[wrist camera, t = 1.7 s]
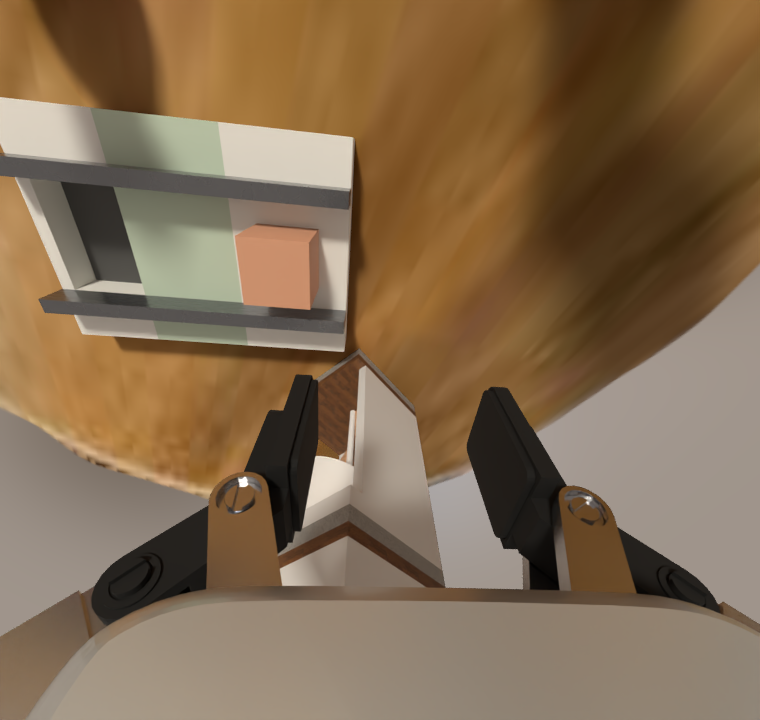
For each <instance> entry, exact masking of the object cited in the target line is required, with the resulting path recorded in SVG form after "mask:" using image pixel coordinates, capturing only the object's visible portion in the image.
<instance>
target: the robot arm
mask: <svg viewBox="0 0 760 720" xmlns="http://www.w3.org/2000/svg"><path fill="white" fill-rule="evenodd" d="M318 434H319V432H318V380H313V377H312V375H296V376H295V379H294V382H293V384H292V387H291V390H290V393H289V396H288V399H287V402H286V405H285V408H284V410H283V411H278V410H270V411H269V412H268V414H267V416H266V419H265V421H264V424H263V426H262V428H261V431H260V433H259V436H258V438H257V441H256V443H255V446H254V448H253V451H252V453H251V456H250V458H249V461H248V463H247V466H246V468H245V470H244V472H240V473H236V474H233V475H230V476H228V477H227V478H225V479H223V480H222V481H220V482H219V483H218V484H217V485H216V486H215V488H214V489H213V491H212V493H211V494H210V498H209V505H208V506H207V507H205V508H203V509H202V510H200V511H198V512H197V513H195V514H193V515H192V516H190V517H189V518H187V519H185V520H183V521H182V522H180V523H178V524H176V525H175V526H173V527H171V528H170V529H168V530H166V531H165V532H163V533H161V534H160V535H158V536H156V537H155V538H153V539H151V540H150V541H148V542H146V543H145V544H143V545H141V546H140V547H138V548H136V549H135V550H133V551H131V552H130V553H128V554H126V555H125V556H123V557H122V558H120V559H119V560H118V561H116V562H115V563H113V564H112V565H111V566H110V567H109V568H108V569H107V570H106V571H105V572H104V573H103V574H102V576H101V577H100V579H99V580H98V582H97V583H96V585H95V586H94V587H92V588H91V589H89V590H87V591H85V592H84V593H82V594H81V593H80V591H79V590H78V591H77V592H75V593H73V594H71V595H70V596H68V597H66V598H65V599H63V600H61V601H60V602H58V603H56V604H54V605H53V606H51V607H49V608H48V609H46V610H44V611H43V612H41V613H39V614H38V615H36V616H34V617H33V618H31V619H29V620H27V621H26V622H24V623H22V624H21V625H19V626H17V627H16V628H14V629H12V630H10V631H9V632H7V633H5V634H4V635H2V636H0V720H760V624H759V623H757V622H755V621H753V620H752V619H751V618H749V617H747V616H746V615H744V614H743V613H741V612H739V611H737V610H736V609H734V608H733V607H731V606H730V605H728V604H726V603H725V602H722V603H720V604H717V602H716V600H715V598H714V597H713V595H712V594H711V593H710V591H709V590H708V589H707V588H706V587H705V586H704V585H703V584H702V583H701V582H700V581H699V580H698V579H697V578H696V577H695V576H693V575H692V574H690V573H689V572H688V571H686V570H685V569H683V568H681V567H680V566H679V565H677V564H675V563H674V562H672V561H670V560H669V559H667V558H666V557H664V556H663V555H661V554H659V553H658V552H656V551H654V550H653V549H651V548H649V547H648V546H647V545H645V544H643V543H642V542H640V541H638V540H637V539H635V538H634V537H632V536H631V535H629V534H627V533H626V532H624V531H623V530H621V529H619V528H618V527H617V524H616V521H615V518H614V515H613V513H612V511H611V509H610V508H609V506H608V505H607V504H606V503H605V502H604V501H603V500H602V499H601V498H600V497H599V496H597V495H596V494H594V493H592V492H591V491H589V490H587V489H585V488H582V487H578V486H567V485H566V484H565V482H564V480H563V479H562V477H561V475H560V474H559V472H558V470H557V469H556V467H555V465H554V464H553V462H552V460H551V459H550V457H549V455H548V453H547V452H546V450H545V448H544V447H543V445H542V444H541V442H540V440H539V438H538V437H537V435H536V433H535V432H534V430H533V429H532V427H531V426H530V425H529V423H528V422H527V420H526V418H525V417H524V415H523V413H522V412H521V410H520V408H519V407H518V405H517V403H516V401H515V400H514V398H513V396H512V395H511V393H510V391H509V390H508V389H507V388H503V387H490V388H489V390H485V391H484V393H483V395H482V399H481V402H480V405H479V408H478V411H477V414H476V417H475V420H474V423H473V426H472V429H471V432H470V435H469V439H468V442H467V452H468V455H469V458H470V462H471V465H472V468H473V471H474V474H475V477H476V480H477V483H478V486H479V489H480V492H481V495H482V498H483V501H484V504H485V507H486V510H487V513H488V516H489V519H490V522H491V525H492V528H493V532H494V534H495V536H496V537H498V538H500V539H501V542H502V545H503V548H504V549H518V551H519V553H520V554H521V555H522V556H523V590H521V589H476V588H424V587H361V586H282V580H281V573H280V567H279V560H278V554H279V553H280V552H281V551H282V550H284V549H285V548H286V547H287V545H288V543H293V539H294V534H295V532H301V530H302V526H303V521H304V515H305V510H306V504H307V499H308V494H309V488H310V483H311V478H312V472H313V467H314V461H315V456H316V451H317V445H318Z"/></svg>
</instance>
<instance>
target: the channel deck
mask: <svg viewBox="0 0 760 720" xmlns="http://www.w3.org/2000/svg"><path fill="white" fill-rule="evenodd" d="M0 144H1V146H2V148H3V151H4V153H9V154H19V155H29V156H38V157H48V158H58V159H67V160H77V161H87V162H97V163H106V164H116V165H126V166H136V167H145V168H155V169H165V170H174V171H184V172H194V173H204V174H213V175H223V176H233V177H243V178H252V179H262V180H272V181H281V182H291V183H301V184H311V185H320V186H330V187H340V188H350V189H351V202H350V208H349V210H345V209H335V208H325V207H314V206H304V205H294V204H284V203H274V202H264V201H253V200H243V199H233V198H223V197H213V196H203V195H192V194H182V193H172V192H162V191H152V190H141V189H131V188H121V187H111V186H101V185H91V184H80V183H70V182H60V181H50V180H40V179H30V178H19V177H15V179H16V181H17V183H18V186H19V188H20V190H21V193H22V195H23V197H24V200H25V202H26V204H27V206H28V209H29V211H30V213H31V216H32V218H33V220H34V223H35V225H36V227H37V230H38V232H39V234H40V237H41V239H42V241H43V244H44V246H45V248H46V251H47V253H48V255H49V258H50V260H51V262H52V265H53V267H54V269H55V272H56V274H57V276H58V279H59V281H60V283H61V286H62V288H63V289H72V290H85V291H98V292H111V293H124V294H137V295H150V296H163V297H176V298H189V299H202V300H215V301H228V302H241V303H244V302H243V295H242V287H241V280H240V272H239V265H238V257H237V250H236V242H235V235H237V234H239V233H241V232H242V231H244V230H246V229H248V228H249V227H251V226H253V225H255V224H256V223H257V224H268V225H279V226H289V227H300V228H311V229H319V289H318V292H317V294H316V297H315V299H314V302H313V304H312V307H311V308H319V309H332V310H345V311H346V322H345V329H344V334H334V333H320V332H306V331H292V330H278V329H264V328H251V327H237V326H223V325H209V324H195V323H181V322H167V321H153V320H139V319H126V318H112V317H98V316H84V315H74V316H75V318H76V320H77V323H78V325H79V327H80V330H81V332H82V334H90V335H104V336H119V337H133V338H148V339H163V340H177V341H192V342H207V343H221V344H236V345H251V346H265V347H280V348H295V349H309V350H324V351H338V352H344V350H345V343H346V330H347V308H348V285H349V262H350V240H351V217H352V194H353V171H354V149H355V139H354V138H353V137H345V136H336V135H327V134H319V133H310V132H301V131H292V130H283V129H275V128H266V127H257V126H248V125H239V124H231V123H222V122H213V121H204V120H195V119H187V118H178V117H169V116H160V115H152V114H143V113H134V112H125V111H116V110H108V109H99V108H90V107H81V106H72V105H64V104H55V103H46V102H37V101H28V100H20V99H11V98H2V97H0Z"/></svg>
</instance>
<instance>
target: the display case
mask: <svg viewBox="0 0 760 720" xmlns="http://www.w3.org/2000/svg"><path fill="white" fill-rule="evenodd" d="M316 380H318V432H319V434H318V439H320V440H321V441H322V442H323V443H325V444H326V445H327V446H328V447H330V448H331V449H332V450H333V451H335V452H336V453H337V454H338V455H340V456H339V460H337V459H334V458H330V457H323V456H315V461H314V467H313V472H312V478H311V483H310V488H309V494H308V499H307V504H306V510H305V515H304V521H303V526H302V530H301V532H295V534H294V539H293V543H288V545H287V547H286V548H285V549H284V550H282V551H281V552H280V553H279V554H278V560H279V567H280V573H281V580H282V586H361V587H424V588H445V583H444V577H443V571H442V566H441V561H440V554H439V548H438V542H437V537H436V531H435V525H434V519H433V513H432V508H431V502H430V496H429V490H428V485H427V479H426V473H425V467H424V461H423V456H422V450H421V444H420V438H419V433H418V427H417V421H416V415H415V409H414V406H413V405H412V404H411V402H410V401H409V400H408V399H407V398H406V397H405V396H404V395H403V394H402V393H401V392H400V391H399V390H398V389H397V388H396V387H395V386H394V385H393V384H392V383H391V381H390V380H389V379H388V378H387V377H386V376H385V375H384V374H383V373H382V372H381V371H380V370H379V369H378V368H377V367H376V366H375V365H374V364H373V363H372V361H371V360H370V359H369V358H368V357H367V356H366V355H365V354H364V353H363V352H362V351H361V350H360V349H358V350H356V351H355V352H354V353H352V354H351V355H349V356H348V357H347V358H345V359H344V360H342V361H341V362H340V363H338V364H337V365H335V366H334V367H332V368H331V369H330V370H328V371H327V372H325V373H324V374H323V375H321V376H320V377H318V378H317V379H316Z"/></svg>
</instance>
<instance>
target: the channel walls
mask: <svg viewBox="0 0 760 720" xmlns="http://www.w3.org/2000/svg"><path fill="white" fill-rule="evenodd" d="M0 176H9V177H19V178H30V179H40V180H50V181H60V182H70V183H80V184H91V185H101V186H111V187H121V188H131V189H141V190H152V191H162V192H172V193H182V194H192V195H203V196H213V197H223V198H233V199H243V200H253V201H264V202H274V203H284V204H294V205H304V206H314V207H325V208H335V209H345V210H349V208H350V202H351V189H350V188H340V187H330V186H320V185H311V184H301V183H291V182H281V181H272V180H262V179H252V178H243V177H233V176H223V175H213V174H204V173H194V172H184V171H174V170H165V169H155V168H145V167H136V166H126V165H116V164H106V163H97V162H87V161H77V160H67V159H58V158H48V157H38V156H29V155H19V154H9V153H0ZM39 301H40V303H41V305H42V308H43V310H44V312H45V313H56V314H70V315H84V316H98V317H112V318H126V319H139V320H153V321H167V322H181V323H195V324H209V325H223V326H237V327H251V328H264V329H278V330H292V331H306V332H320V333H334V334H344V329H345V322H346V311H345V310H332V309H319V308H311V309H310V310H306V309H293V308H280V307H267V306H254V305H244V303H241V302H228V301H215V300H202V299H189V298H176V297H163V296H150V295H137V294H124V293H111V292H98V291H85V290H72V289H61V290H59V291H57V292H54V293H52V294H50V295H47V296H45V297H42V298H40V299H39Z"/></svg>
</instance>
